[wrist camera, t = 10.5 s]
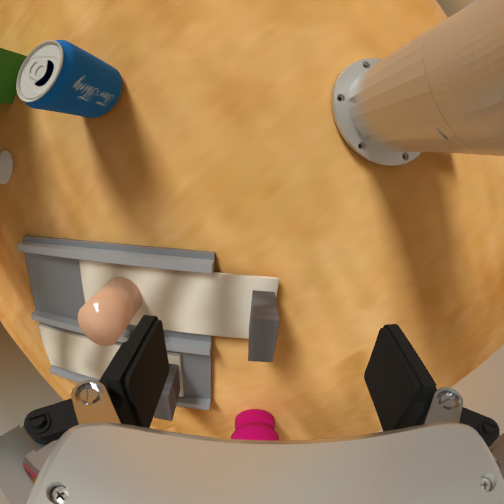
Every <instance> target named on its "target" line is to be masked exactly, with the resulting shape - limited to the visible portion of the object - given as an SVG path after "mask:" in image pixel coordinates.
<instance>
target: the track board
mask: <svg viewBox="0 0 504 504" xmlns="http://www.w3.org/2000/svg"><path fill="white" fill-rule="evenodd" d="M17 249H18V251H21V252H25V257H26V263H27V269H28V274H29V280H30V285H31V289H32V294H33V298H34V302H35V306H36V310H35V311H34V312H33V313H32V314H31V316H32V319H33V320H35V321H38V322H40V324H43V325H47V326H50V327H54V328H57V329H61V330H64V331H68V332H72V333H76V334H80V335H84V336H86V335H85V334H84V333H83V331H82V330H81V328H80V326H79V323H78V312H79V310H80V308H81V307H82V306H83V305H84V304H85V298H84V292H83V286H82V279H81V272H80V263H79V259H80V260H89V261H97V262H105V263H114V264H122V265H131V266H140V267H150V268H159V269H169V270H179V271H189V272H199V273H210V274H212V272H214V267H215V252H207V251H196V250H184V249H173V248H162V247H150V246H139V245H128V244H116V243H105V242H94V241H83V240H72V239H61V238H50V237H39V236H28V235H26V236H24V237H23V241H22V242H20V243H18V244H17ZM136 326H137V325H131V324H128V326H127V327H126V329H125V330H124V332H123V333H122V335H121V336H120V338H119V339H118V341H117V342H116V343H119V344H122V343H123V342H127V340H128V339H129V337H130V335H131V334H132V332H133V331H134V329H135V328H136ZM163 331H164V338H165V344H166V350H167V352H171V353H178V354H181V367H182V380H183V392H184V395H183V397H180V396H179V397H178V400H177V404H176V406H180V407H186V408H194V409H201V410H210V406H211V363H212V335H202V334H194V333H185V332H177V331H170V330H163ZM50 372H51V373H52V374H55V375H57V376H60V377H63V378H66V379H69V380H72V381H75V382H78V383H80V382H82V381H85V380H96V381H99V379H95V378H92V377H88V376H85V375H82V374H78V373H75V372H72V371H69V370H66V369H63V368H60V367H57V366H54V365H52V366H51V368H50Z"/></svg>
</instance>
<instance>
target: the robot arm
mask: <svg viewBox="0 0 504 504" xmlns="http://www.w3.org/2000/svg"><path fill="white" fill-rule="evenodd" d="M364 66H365V67H364ZM337 98H340V100H341V101H338V99H337ZM331 105H332V113H333V117H334V121H335V124H336V126H337V128H338V130H339V133H340V134H341V136H342V137H343V139H344V140H345V142H346V143H347V144H348V145H349V146H350V147H351V148H352V149H353V150H354V151H355V152H356V153H357V154H359V155H360V156H361V157H363V158H365V159H367V160H368V161H370V162H373V163H376V164H379V165H386V166H398V165H403V164H406V163H408V162H411V161H413V160H414V159H415V158H417V157H418V156H419V155H420V154H421V153H422V152H442V153H464V154H479V155H495V156H504V0H476V1H475V2H474V3H472V4H470V5H468V6H467V7H465V8H463V9H462V10H460V11H459V12H457V13H456V14H454V15H452V16H451V17H449V18H447V19H445V20H444V21H442V22H440V23H439V24H437V25H435V26H434V27H432V28H431V29H429V30H427V31H426V32H424V33H423V34H421V35H419V36H418V37H416V38H415V39H413V40H411V41H410V42H408V43H407V44H405V45H404V46H402V47H401V48H399V49H398V50H396V51H395V52H393V53H392V54H390V55H389V56H387V57H386V58H384V59H378V58H368V59H362V60H359V61H357V62H354V63H352V64H351V65H350V66H348V67H347V68H346V69H345V70H344V71H343V72H342V73H341V74H340V75H339V77H338V78H337V80H336V82H335V84H334V87H333V90H332V98H331ZM358 144H360V145H361V148H359V147H358ZM402 155H403V157H402ZM168 375H169V362H168V356H167V350H166V344H165V338H164V331H163V324H162V321H161V320H158V317H157V316H151V315H143V317H142V318H141V320H140V321H139V323H138V324H137V326H136V328H135V329H134V331H133V332H132V334H131V335H130V337H129V339H128V340H127V342H123V343H122V345H121V346H120V348H119V349H118V351H117V352H116V354H115V356H114V357H113V359H112V360H111V362H110V364H109V365H108V367H107V369H106V370H105V372H104V373H103V375H102V377H101V378H100V380H99V381H96V380H85V381H82V382H80V383H78V384H77V385H76V386H75V387H74V388H73V390H72V393H71V399H68V400H65V401H62V402H59V403H56V404H53V405H50V406H46V407H43V408H40V409H36V410H34V411H32V412H30V413H29V414H28V415H27V417H26V418H25V421H24V426H23V427H20V426H19V425H18V426H16V427H15V428H13V429H12V430H10V431H8V432H7V433H5V434H4V435H2V436H0V487H1V489H2V491H3V492H4V494H5V496H6V497H7V499H8V501H9V502H10V504H504V434H502V435H499V427H498V425H497V423H496V422H495V421H494V420H492V419H491V418H488V417H486V416H483V415H481V414H478V413H476V412H473V411H471V410H468V409H466V408H464V407H463V399H462V397H461V395H460V394H459V393H458V392H457V391H455V390H453V389H451V388H440V389H438V390H437V389H436V387H435V386H436V383H435V382H434V380H433V378H432V377H431V375H430V374H429V372H428V370H427V369H426V367H425V366H424V364H423V362H422V361H421V359H420V358H419V356H418V354H417V353H416V351H415V350H414V348H413V347H412V345H411V344H410V342H409V341H408V339H407V338H406V336H405V335H404V333H403V332H402V330H401V329H400V327H399V326H398V325H397V324H390V325H384V327H383V328H381V329H380V331H379V334H378V337H377V340H376V343H375V346H374V349H373V351H372V354H371V357H370V360H369V363H368V365H367V368H366V371H365V375H364V378H365V382H366V384H367V387H368V390H369V392H370V395H371V398H372V400H373V403H374V406H375V409H376V411H377V414H378V417H379V420H380V423H381V425H382V428H383V431H384V432H378V433H372V434H365V435H358V436H350V437H340V438H329V439H315V440H288V441H267V440H240V439H225V438H214V437H205V436H197V435H189V434H182V433H175V432H168V431H162V430H157V429H151V428H149V427H150V424H151V422H152V419H153V416H154V413H155V410H156V407H157V405H158V402H159V399H160V396H161V394H162V391H163V388H164V385H165V383H166V380H167V377H168Z"/></svg>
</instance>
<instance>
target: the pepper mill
mask: <svg viewBox="0 0 504 504" xmlns="http://www.w3.org/2000/svg"><path fill="white" fill-rule="evenodd" d="M274 428H275V425H274V418H273V416H272V415H271V414H270V413H268V412H266V411H263V410H255V409H252V410H247V411H244V412H242V413H240V414H239V415H238V416H237V417H236V419H235V431H234V432H233V434H232V436H231V439H240V440H267V441H279V437H278V434H277V432H276V431H275V430H274Z"/></svg>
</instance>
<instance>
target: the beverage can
mask: <svg viewBox="0 0 504 504" xmlns="http://www.w3.org/2000/svg"><path fill="white" fill-rule="evenodd" d="M16 89H17V94H18V96H19V98H20V99H21V100H22V101H24V102H25V103H26V104H27V105H28V106H30V107H31V108H36V109H43V110H49V111H55V112H61V113H67V114H73V115H78V116H83V117H88V118H96V117H99V116H102V115H104V114H105V113H107V112H108V111H110V110H111V109H112V108H113V106H114V105H115V104H116V102H117V101H118V99H119V97H120V94H121V91H122V78H121V75H120V73H119V72H118V71H117V70H116V69H115V68H113V67H112V66H110V65H108V64H107V63H105V62H103V61H102V60H100V59H98V58H96V57H95V56H93V55H91V54H89V53H88V52H86V51H84V50H82V49H80V48H79V47H77V46H75V45H73V44H71V43H69V42H68V41H65V40H56V41H46V42H43V43H41V44H40V45H38V46H37V47H36V48H34V49H33V50H32V51H31V52H30V54H29V55H28V56H27V57H26V59H25V60H24V62H23V64H22V66H21V68H20V70H19V73H18V77H17V83H16Z"/></svg>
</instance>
